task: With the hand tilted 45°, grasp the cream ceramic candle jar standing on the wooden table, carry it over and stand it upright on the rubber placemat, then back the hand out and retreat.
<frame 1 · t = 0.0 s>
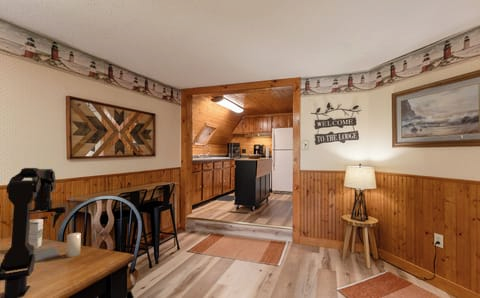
hand: (41, 229, 108), 15 cm above the table, tool pointing down, fingers open, 9 cm apart
syrup box: (33, 248, 123), on the table
candle jar: (73, 254, 115), on the table
placemat: (42, 254, 115), on the table
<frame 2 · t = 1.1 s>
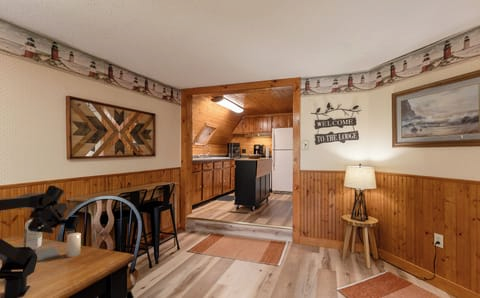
hand: (63, 232, 108), 13 cm above the table, tool tilted 45°, fingers open, 9 cm apart
nothing on the table moved.
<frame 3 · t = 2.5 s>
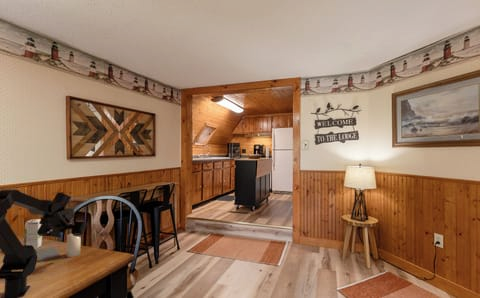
hand: (70, 236, 113), 10 cm above the table, tool tilted 45°, fingers open, 9 cm apart
nothing on the table moved.
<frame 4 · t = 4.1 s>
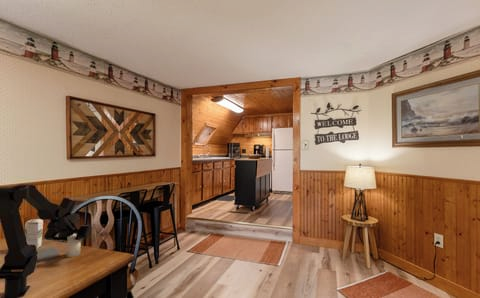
hand: (75, 240, 117), 7 cm above the table, tool tilted 45°, fingers closed on candle jar, 6 cm apart
candle jar: (73, 254, 115), on the table, touching gripper
everything else where it was.
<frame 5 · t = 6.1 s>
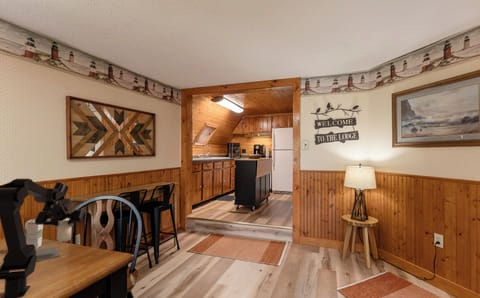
hand: (65, 225, 118), 14 cm above the table, tool tilted 45°, fingers closed on candle jar, 6 cm apart
candle jar: (64, 239, 116), point 7 cm above the table, touching gripper
everything else where it was.
when the fingers open (8 cm above the table, at t = 8.5 s): candle jar drops 1 cm, resting on placemat.
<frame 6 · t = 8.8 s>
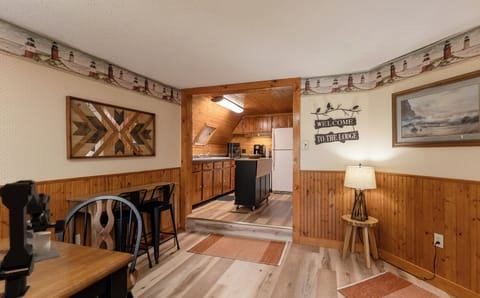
hand: (44, 236, 116), 9 cm above the table, tool tilted 45°, fingers open, 9 cm apart
candle jar: (42, 253, 115), resting on placemat
everything else where it was.
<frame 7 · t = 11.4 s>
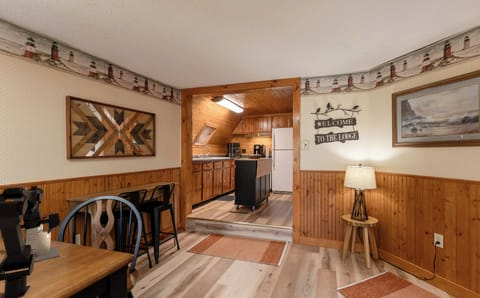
hand: (35, 236, 106), 12 cm above the table, tool tilted 40°, fingers open, 9 cm apart
nothing on the table moved.
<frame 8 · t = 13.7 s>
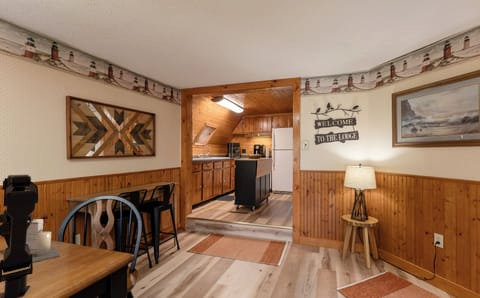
hand: (15, 244, 94), 13 cm above the table, tool pointing down, fingers open, 9 cm apart
nothing on the table moved.
at the end: candle jar inside the target area on the placemat (0.1 cm from its centre), point 0.5 cm above the placemat's base; candle jar tilted 1°; the gripper is holding nothing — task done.
